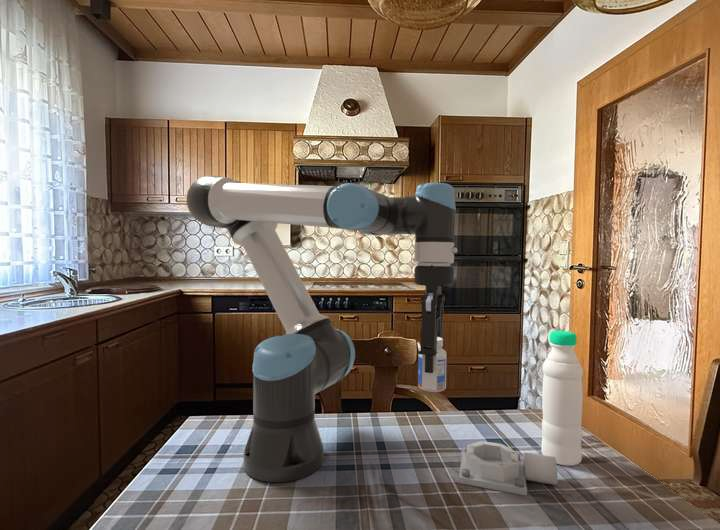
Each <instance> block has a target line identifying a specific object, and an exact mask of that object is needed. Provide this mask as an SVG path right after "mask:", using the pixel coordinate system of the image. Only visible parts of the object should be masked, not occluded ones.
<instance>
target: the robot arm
mask: <svg viewBox="0 0 720 530" xmlns="http://www.w3.org/2000/svg"><path fill="white" fill-rule="evenodd" d="M415 189H416V190H415V193H414V195H411V196H395V197H394V196H391V197H390V196H388V195H386V194H383V193H380V192H377V191H375V190H373V189H370V188H368V187H366V186H365V185H362V184H358V183H351V182H350V183H349V182H347V183H346V182H345V183H342V184H340V185H338V186H336V185H334V186H333V185H313V184H311V185H308V184H307V185H306V184H279V183H255V182H254V183H253V182H252V183H251V182H242V181H238V180H234V179H233V178H231V177H226V176H225V177H224V176H218V175H206V176H205V175H204V176H201V177H199V178H198V179H196V180H195V181H193V182H192V183H191V185H190V186H189V188H188V190H187V194H186V206H187V208H188V210H189V211H188V212H189V213H190V215H191V216H192V217H193V219H195V220H196V221H198V222H199V223H200V224H202V225H203V226H204V225H205V226H208V227H210V228H211V227H212V228H217V229H218V228H219V229H226V230H227V232H228V234H229V235H230V237H231V239H232V241H233V243H234V244H236V245H238V246H242V247H243V249H244V250H245V252H246V255H247V256H248V259H249V261H250V262H251V264H252V267H253V269H254V270H255V273H256V274H257V277H258V278H259V280H260V283H261V284H262V286H263V289H264V290H265V292H266V294H267V296H268V298H269V301H270V302H271V305H272V307H273V308H274V310H275V312H276V315H277V316H278V319H279V321H280V322H281V324H282V326H283V328H284V330H285V334H283V335H276V336H273V337H268V338H267V339H264V340H262V341H261V342H260V343H258V345H257V346H256V347H255V349H254V352H253V363H252V367H251V368H252V369H251V371H252V411H253V413H252V414H253V418H252V419H253V420H252V421H253V422H252V426H251V429H250V432H249V435H248V439H247V442H246V444H245V447H244V451H243V469H244V471H245V473H246V474H247V475H249V476H250V477H251V478H253V479H255V480H257V481H262V482H266V483H267V482H268V483H286V482H287V483H288V482H292V481H293V482H294V481H296V480H299V479H303V478H306V477H307V476H310V475H312V474H313V473H315V472H316V471H317V470H318V469H319V468H320V467H321V466H322V464H323V462H324V459H325V458H324V457H325V456H324V450H325V449H324V443H323V441H322V437H321V435H320V431H319V428H318V425H317V422H316V416H315V414H316V413H315V412H316V411H315V409H316V408H315V407H316V403H315V399H316V394H317V393H320V392H322V391H323V390H325V389H327V388H328V387H330V386H332V385H336V384H337V383H339V382H340V381H342V380H343V378H344V377H346V376H347V375H348V374H349V373H350V372H351V370H352V368H353V366H354V363H355V362H354V361H355V359H356V351H355V346H354V343H353V341H352V339H351V338H350V336H349V335H348V334H347V333H346V332H345V331H343V330H341V329H338V328H336V327H335V326H334V324H333V322H332V321H331V318H330V317H329V316H327V315H323V314H321V313H320V312H319V310H318V308H317V307H316V304H315V302H314V301H313V299H312V297H311V295H310V293H309V292H308V290H307V287H306V286H305V283H304V282H303V280H302V278H301V276H300V274H299V272H298V271H297V269H296V266H295V265H294V262H293V261H292V259H291V257H290V256H289V254H288V252H287V250H286V248H285V247H284V243H283V242H282V241H281V238H280V236H279V235H278V233H277V231H276V230H277V227H278V224H285V225H295V226H307V227H318V228H319V227H320V228H321V227H322V228H332V229H337V230H349V231H360V233H362V234H364V235H370V236H371V235H372V236H381V235H391V236H392V235H393V236H394V235H414V237H415V238H414V260H413V261H414V263H416V265H415V267H414V276H413V278H414V279H413V282H414V284H415V285H417V286H425V291H424V294H422V295H421V302H420V304H421V334H420V336H421V337H420V349H419V350H420V351H419V350H418V352H417V353H418V354H422V389H430V390H437V358H438V355H437V351H436V350H437V337H440V338H442V339H443V340H444V337H443V336H444V335H443V331H444V330H443V329H444V327H443V326H444V324H443V323H444V309H445V308H444V304H445V300H446V296H445V294H444V293H443V292H442V287H451V286H453V285H454V283H455V282H454V281H455V268H454V266H452V265H451V264H454V262H455V253H458V247H454V246H455V231H456V230H455V229H456V211H457V208H456V190H455V188H454V186H453V185H451V184H449V183H445V182H427V183H422V184H418V185H417V187H416V188H415ZM443 347H446V342H445V341H443ZM443 347H442V348H443ZM422 389H421V390H422Z"/></svg>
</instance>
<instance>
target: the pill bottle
mask: <svg viewBox="0 0 720 530" xmlns="http://www.w3.org/2000/svg"><path fill="white" fill-rule="evenodd" d="M443 342H444V338H443V339H442V338H440V337H437V350H436V351H437V355H438V358H437V390H430V389H422V354H418V362H417V363H418V364H417V365H418V367H417V368H418V371H417V386H418V388H419V389H421V390H422V391H425V392H430V393H440V392H443V391H444V390H446V388H447V351H446V350H445V349H443ZM418 351H420V349H419V350H418Z"/></svg>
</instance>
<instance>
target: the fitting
mask: <svg viewBox="0 0 720 530" xmlns="http://www.w3.org/2000/svg"><path fill="white" fill-rule="evenodd" d="M460 459H461V460H460V465H459V467H460V468H459V474H458V484H462V485H467V486H474V487H477V488H483V489H488V490H494V491H500V492H504V493H509V494H516V495H520V496H526V497H527V496H528V487H527V481H529V482H535V483H536V482H537V483H542V484H547V485H551V486H552V485H554V486H557V485H558V464H557V463H556V458H555V457H551V456H545V455H543V454H538V453H533V452H532V453H530V452H523V457H521V454H519V453H518V452H517V451H515V450H514V449H512V448H510V447H508V446H507V445H505V444H502V443H498V442H490V441H484V440H480V441H476V442H473V443H469V444H467V445H465V446H464V447H463V448H462V452H461V457H460Z"/></svg>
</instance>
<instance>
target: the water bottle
mask: <svg viewBox="0 0 720 530" xmlns="http://www.w3.org/2000/svg"><path fill="white" fill-rule="evenodd" d="M577 342H578V339H577V334H576V333H575V332H573V331H568V330H552V331H550V333H549V344H550V345H551V350H550V351H549V353H548V354H547V357H546V358H545V360H544V362H543V364H542V372H543V377H542V378H543V379H542V389H541V390H542V393H541V394H542V399H541V400H542V401H541V403H542V405H541V407H542V409H541V410H542V421H541V433H542V438H541V449H540V450H541V455H545V456H551V457H555V458H556V463H557V465H560V466H564V467H572V466H573V467H574V466H577V465H579V464H580V463H581V462H582V459H583V452H582V450H583V448H582V438H583V429H582V418H583V401H584V399H583V396H584V394H583V381H582V379H583V376H584V369H583V366H582V365H581V362H580V361H579V359H578V355H577V354H576V353H575V348H576V347H577V346H576V345H577V344H578V343H577Z"/></svg>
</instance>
